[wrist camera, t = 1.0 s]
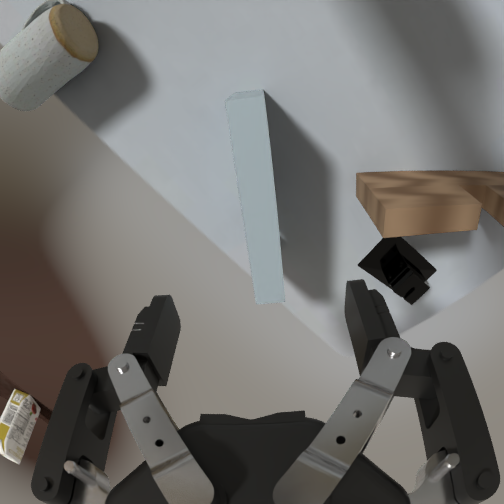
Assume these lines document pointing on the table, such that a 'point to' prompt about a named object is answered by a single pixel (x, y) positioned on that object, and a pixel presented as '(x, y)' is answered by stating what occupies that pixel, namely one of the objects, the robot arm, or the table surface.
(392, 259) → the black plastic bracket
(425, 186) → the brown wooden board
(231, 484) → the robot arm
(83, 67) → the ceramic mug
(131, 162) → the table surface
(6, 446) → the juice carton
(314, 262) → the table surface
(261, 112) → the blue grey block
